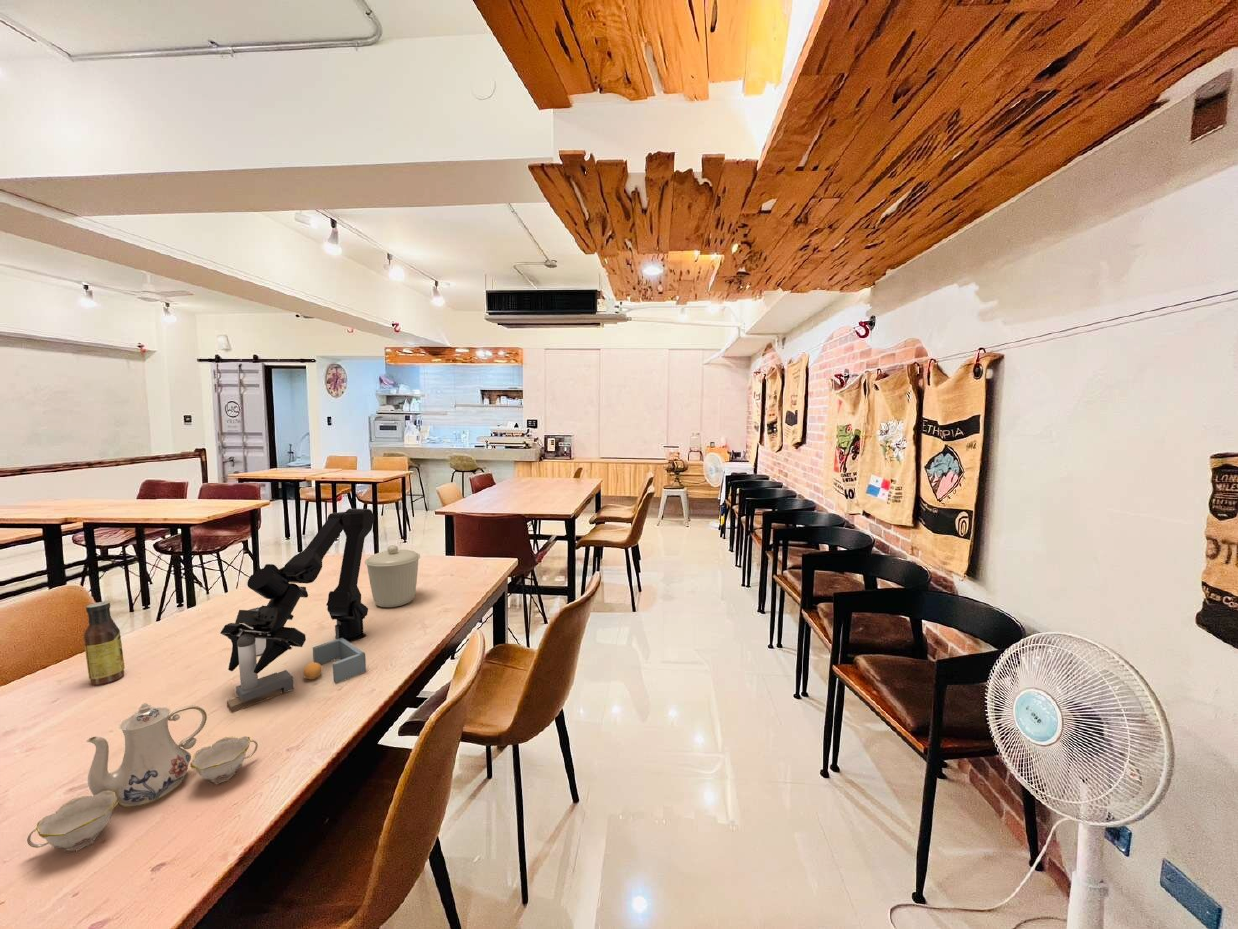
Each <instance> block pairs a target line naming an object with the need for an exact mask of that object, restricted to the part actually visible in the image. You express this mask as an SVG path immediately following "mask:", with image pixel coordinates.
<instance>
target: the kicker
mask: <svg viewBox="0 0 1238 929" xmlns="http://www.w3.org/2000/svg"><path fill="white" fill-rule="evenodd" d="M255 641H256V639H255V637H254V635H252V634H244V635H242V636H241V637H240V638H239V639H238V641H237V646H238V656H239V665H238V666H239V680H240V682H239V683H240V685H236V686H235V689H236V697H239V698H240V700H241V701H242V702H246V701H248V700H251V699H254V698H256V697H259V696H262V695H265V694H267V693H270V692H273V691H275V690H278V689H281V688H282V693H288V692H290V691H293V690H294V689H295V685H294V684H295V683H294V676H293V675H292V674H291V673H289V671H288V670H287V669H285V670H283V671H282V670H281V671H280V672H279V671H278V672H274V673H271V674H268V675H265V676H263V677H262V676H261V677H260V678H259V676H258V674H259V673H258V674H256V673H254V669H255V667H256V665H257V663H258V662H257V661H258V659H257V656H256V646H255Z"/></svg>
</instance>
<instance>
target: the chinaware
mask: <svg viewBox="0 0 1238 929" xmlns="http://www.w3.org/2000/svg"><path fill="white" fill-rule="evenodd" d="M189 710H196V711H198V712H199V713H201V715H202V716H201V717H202V720H201V723H200V725H199V727H197V729H196V730H195V731H194V732H193V733H191V734H190V735H189V736H187V737H186V738H184V739H182V740H181V741H180V742H179V743H176V742H175V740H174V739H173V737H172V735H171V733H170V731H169V723H168V722H169V721H170V722H172V721H173V722H177V721H178V720H180V718H181V716H180V715H179V714H178V713H181V712H185V711H189ZM207 719H208V715H207V712H206V710H205V709H204V708H203V707H201V706H198V705H186V706H184V707H180V708H177V709H176V710H174V711H171V708H168V707H159V706H158V707H155V706H152V705H150V704H148V703H147V702H144V703H142V704H141V706H140V707H139V708H138V711H136V712H134V714H132V715H131V716H129V717H127V718H125V719H124V720H122V722H121V723H120V724H119V727H118V728H119V729H120V730H121V731H122V733H123V736H124V743H125V744H124V754H123V757H122V761H121V764H120V765H119V767H118V768H117V769H116V770H114V771H113V772H110V773H109V769H108V767H109V765H108V764H109V754H110V752H109V751H110V750H109V747H110V746H109V742H108V741H107V739H105V738H104V737H101V736H92V737H89V738H88V739H86V742H87V743H91V744H93V745H94V747H95V752H94V755H93V759H92V760H91V761H92V762H91V765H90V767H89V771H88V775H87V786H88V788H89V790H90V792H91V794H92V795H84V796H83V795H82V796H79V797H76V798H72V799H71V800H68V801H67V802H65V803H63V804H62V805H61V806H60V807H59V809H57V811H55V813H52V814H49V815H46V816H45V817H43V818H42V819H41V820H39V821H38V822H37V824H36V827H35V829H32V831H31V832H30V833H29V834H28V836H27V839H26V841H27V844H28V846H29V847H31V848H37V849H38V848H43V847H45V846H47V845H51V846H52V847H54V849H58V848H59V849H65V850H67V851H69V850H76V852H78V851H79V850H81V849H83V848H85V847H87V846H89V845H91V844H94V843H95V842H94V841H95V840H96V839H97V837H98V835H100V832H102V830H103V829H104V828H105V827H106V826H107V825H108V822H109V821H110V819H111V817H112V814H113V810H114V808H115V807H116V806H117V805H119V806H120V807H122V808H136V807H142V806H145V805H148V804H150V803H153V802H156V801H158V800H160V799H162V798H164V797H166V796H168V795H169V794H170V793H172V792H173V791H175V790H176V789H177V788H178V787H179V786H180V785H181V784H182V783H183V781H184V779H185V775H186V773H187V772H188V770H189V764H190V768H191V769H193V770H196V771H197V773H198V776H200V777H201V778H203V780H204V779H205V780H207V781H210V782H212V783H214V785H218V784H221V783H224V782H228V781H230V779H231V778H232V777H233V776H235V775H236V774H237V772H236V771H237V770H238V769H239V768H240V767H241V766H242V765H243V762H244V761H245V760H246V759H249V758H251V757H252V756H254V755H255V753H256V752H257V750H258V742H257V741H256V740H254V739H251V738H250V736H242V737H239V738H238V737H235V736H225V737H222V738H221V739H219V740H217V741H215V743H213V744H212V745H209V746H204V747H201V748H200V749H198V750H196V752H195V753H194V755H193V756H191V753H190V752H189V751H188V750H190V749H192V748H193V747H194V746H195V745H196V743H197V740H198V738H196V737H195V736H197V735H198V734H199V733H200V732H201V731H202V730H203V728H204V727H205V725H206V723H207ZM250 743H254V744H255V747H254V750H253V751H252V752H251V753H250V754H249V755H247V752H248V750H249V748H250V745H251V744H250ZM246 755H247V756H246ZM191 759H192V761H191ZM36 831H37V834H38V836H39V837H40V838H42V839H44V840H46V842H45V843H42V844H38V843H34V842H32V840H31V839H32V835H33V833H34V832H36ZM80 848H81V849H80ZM68 849H69V850H68ZM77 850H78V851H77Z"/></svg>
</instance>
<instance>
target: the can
mask: <svg viewBox="0 0 1238 929" xmlns="http://www.w3.org/2000/svg"><path fill="white" fill-rule="evenodd" d="M260 607H261V606H258V607H253V608H251V609H249V610H252V611H258V610H259V608H260ZM243 625H245V626H247V625H246V624H243ZM247 627H249V626H247ZM249 628H251V629H253V627H249ZM260 635H261V634H260ZM255 639H256V641H255V646H256V657H257V656H262V654H263V652H264V650H265V648H266V639H261V638H255Z"/></svg>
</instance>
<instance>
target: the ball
mask: <svg viewBox="0 0 1238 929" xmlns="http://www.w3.org/2000/svg"><path fill="white" fill-rule="evenodd" d="M302 671H303V672H302V674H303V677H304V678H305V679H307V680H314V679H317V678H318V677H319V676H320V675H321V673H322V671H323V667H322V664H321V665H320V664H319V663H316V662H310V663H308V664H307V665H306V666H304V668H303V670H302Z"/></svg>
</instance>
